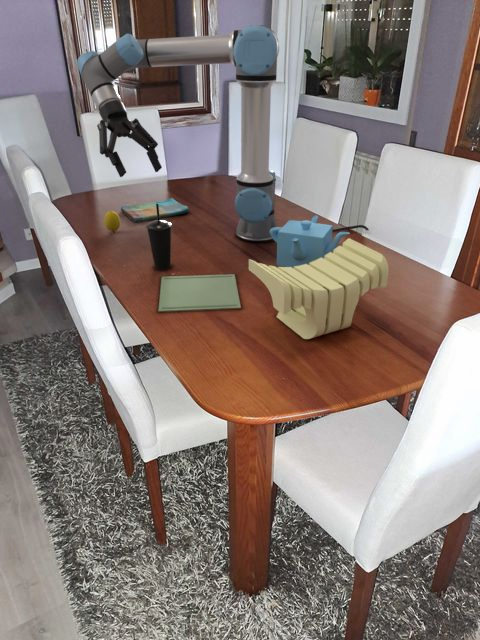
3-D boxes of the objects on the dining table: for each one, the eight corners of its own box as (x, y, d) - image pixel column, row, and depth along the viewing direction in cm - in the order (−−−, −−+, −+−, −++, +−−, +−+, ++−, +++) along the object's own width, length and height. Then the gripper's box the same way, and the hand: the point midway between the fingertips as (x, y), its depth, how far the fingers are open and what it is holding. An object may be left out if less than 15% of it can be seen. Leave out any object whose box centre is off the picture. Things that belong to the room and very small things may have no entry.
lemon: (117, 235, 189) (115, 213, 184) (103, 234, 189) (100, 212, 185) (123, 230, 193) (121, 208, 189) (109, 229, 194) (106, 207, 190)
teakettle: (264, 261, 169) (265, 216, 161) (315, 252, 175) (318, 209, 168) (292, 284, 154) (294, 236, 147) (346, 273, 161) (351, 227, 153)
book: (190, 213, 210) (190, 207, 209) (135, 223, 200) (134, 216, 198) (173, 202, 222) (173, 196, 221) (120, 211, 212) (119, 205, 211)
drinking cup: (145, 269, 162) (139, 206, 152) (158, 261, 168) (152, 199, 158) (167, 273, 160) (162, 209, 149) (179, 264, 166) (174, 201, 155)
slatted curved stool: (281, 353, 122) (284, 284, 112) (248, 324, 134) (248, 258, 124) (380, 323, 134) (390, 258, 125) (341, 299, 146) (348, 238, 137)
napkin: (234, 275, 159) (234, 273, 159) (240, 308, 141) (240, 307, 141) (161, 277, 158) (161, 276, 157) (158, 312, 139) (158, 310, 139)
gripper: (136, 112, 166) (166, 174, 167) (68, 115, 149) (101, 183, 150) (148, 98, 161) (178, 161, 162) (79, 99, 144) (113, 170, 145)
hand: (141, 172), depth 156 cm, fingers open, 13 cm apart
